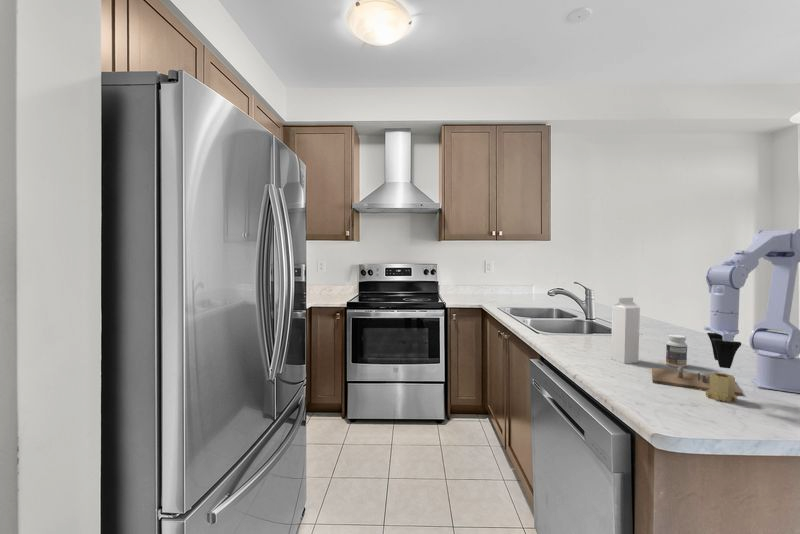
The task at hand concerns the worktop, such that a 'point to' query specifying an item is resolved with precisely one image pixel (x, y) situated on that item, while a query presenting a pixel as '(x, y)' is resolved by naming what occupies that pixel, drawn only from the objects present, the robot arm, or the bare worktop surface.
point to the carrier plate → (684, 379)
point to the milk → (625, 331)
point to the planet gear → (721, 387)
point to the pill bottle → (676, 351)
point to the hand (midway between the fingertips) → (722, 363)
